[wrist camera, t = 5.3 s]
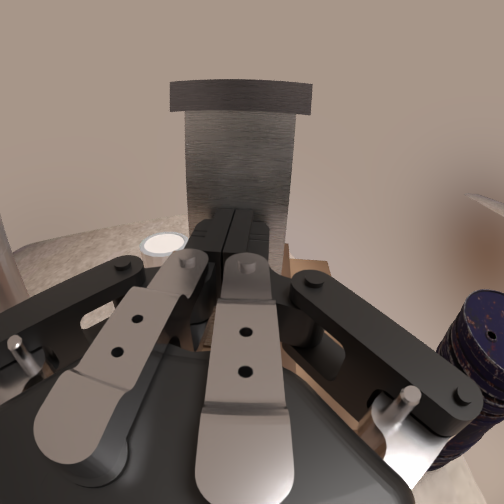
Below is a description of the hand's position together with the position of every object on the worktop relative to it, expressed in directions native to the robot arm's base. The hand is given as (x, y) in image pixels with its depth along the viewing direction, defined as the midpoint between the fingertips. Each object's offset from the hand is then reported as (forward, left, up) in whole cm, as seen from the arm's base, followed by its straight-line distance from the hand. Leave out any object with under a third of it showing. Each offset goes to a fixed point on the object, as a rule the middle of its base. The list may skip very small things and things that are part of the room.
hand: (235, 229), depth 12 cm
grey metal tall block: (0, +2, -8) cm, 8 cm away
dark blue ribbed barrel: (+19, -1, -20) cm, 28 cm away
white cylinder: (-12, +21, -20) cm, 31 cm away
